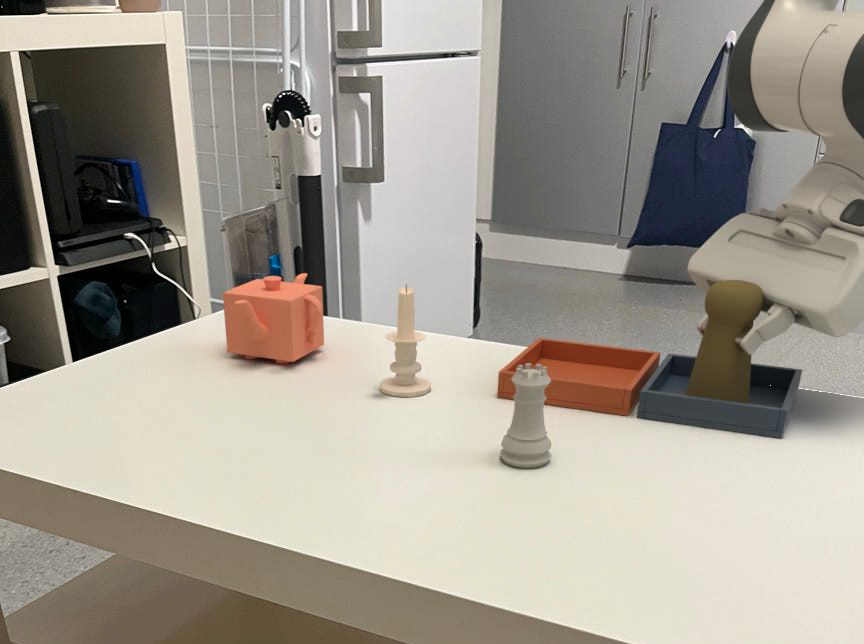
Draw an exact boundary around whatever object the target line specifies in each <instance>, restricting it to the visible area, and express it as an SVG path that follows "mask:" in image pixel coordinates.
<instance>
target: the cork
mask: <svg viewBox="0 0 864 644" xmlns="http://www.w3.org/2000/svg"><path fill="white" fill-rule="evenodd" d="M763 302H764V298H763V293H762V289H761V288H760V287H759V286H758V285H756V284H754V283H751V282H747V281H742V280H725V281H719V282H717V283H715V284H713V285H712V286H711V288H710V289H709V290H708V292H706V295H705V298H704V310H705V311H704V312H705V314H706V313H707V315H708V321H707V324H706V327H705V331H704V334H703V336H702V337H701V341H700V344H699V348H698V351H697V354H696V356H695V357H696V360H695V364H694V367H693V370H692V374H691V377H690V380H689V383H688V387H687V390H686V393H685V395H688V396H695V397H703V398H710V399H718V400H725V401H733V402H740V403H747V404H748V402H749V389H750V372H751V363H752V355H749V354H746V353H745V352H742V351H740V350H739V348H738V347H737V346H736V345H735V344H734V338H735V337H736V336H737V335H738V334H740V332H741V330H742V329H743V328H744V327H745V326H747V327H750V328H752V327H753V326H754V321H755V320H756V319H757V318H758V317H759V316H760V313H761V309H762V307H763Z"/></svg>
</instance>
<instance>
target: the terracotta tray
mask: <svg viewBox="0 0 864 644" xmlns="http://www.w3.org/2000/svg"><path fill="white" fill-rule="evenodd" d="M660 359H661V352H659V351H652V350H645V349H644V350H643V349H637V348H628V347H619V346H611V345H603V344H594V343H587V342H577V341H569V340H562V339H561V340H560V339H554V338H553V339H552V338H544V337H538V338H536V340H535V341H534V342H532V343H531V344H530V345H529V346H527V348H525V349H524V350H522V352H520V353H519V354H518V355H517V356H515V357H514V359H512V360H511V361H510V362H508V363H507V364H506V365H505V366H504V367H502V368H501V369H500V370H499V371H498V379H497V398H500V399H507V400H513V401H515V400H514V398H513V396H514V394H515V393H516V386H515V385H514V383H513V382H512V380H511V379H512V377H513V376H514V375H515V373H516V369H517V366H519V365H523V370H524V369H525V364H531V369H536V364H539V365H542V369H543V367H547V375H548V376H549V378H550V379H551V382H550V383H549V384H548V386H547V387H546V388H545V390H544V394H545V396H546V397H547V399H546V400H545V402H544V405H547V406H549V405H550V406H555V407H561V408H562V407H563V408H570V409H576V410H582V411H590V412H597V413H605V414H611V415H617V416H618V415H619V416H625V417H629V416H630V414H631V412H632V411H633V410H634V409H635V407H636V406H637V405H638V403H639V396H640V391H641V390H642V388H643V387H644V386H645V384H646V383H647V382H648V380H649V379H650V378H651V376H652V375H653V374H654V372H655V371H656V370H657V368H658V367H659V366H660V361H661V360H660Z"/></svg>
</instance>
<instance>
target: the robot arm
mask: <svg viewBox="0 0 864 644" xmlns="http://www.w3.org/2000/svg"><path fill="white" fill-rule="evenodd" d="M839 2H840V0H763V1H762V3H761V4H760V6H759V7H758V8H757V9H756V11H755V13H754V14H753V15H752V16H751V18H750V19H749V20H748V22H747V23H746V25H745V27H744V28H743V30H742V32H741V33H740V35H739V37H738V38H737V40H736V42H735V44H734V46H733V48H732V51H731V54H730V57H729V61H728V65H727V72H726V88H727V95H728V100H729V103H730V106H731V109H732V111H733V113H734V115H735V117H736V119H737V120H738V121H739V122H740V123H741V124H742V125H743V126H744V127H745V128H747V129H748V130H751V131H755V132H769V133H771V132H772V133H774V132H775V133H789V132H791V133H797V134H804V135H809V136H814V137H820V138H821V140H822V142H823V144H824V146H825V151H824V154H823V156H822V157H821V158H819V160H817V161H816V162H815V163H814V164H813V165H812V166H811V168H809V170H808V171H807V172H806V173H805V174H804V176H803V177H802V178H801V179H800V180H799V181H798V183H797V184H796V185H795V186H794V187H793V188H792V190H791V191H789V193H788V194H787V195H786V197H785V198H784V199H783V200H782V201H781V202H780V204H779V205H778V206H777V207H776V209H775V210H770V209H768V208H766V207H760V206H759V207H755V208H754V209H752V210H749V211H746V212H741V213H740V214H737V215H736V216H734V217H732V218H731V219H729V220H728V221H727V222H725V223H724V224H723V225H722V226H721V227H720V228H718V229H717V230H716V231H715V232H714V233H712V235H711V236H710V237H709V238H708V239H707V240H706V241H705V242H704V243H703V244H702V245H701V246H700V247H699V248H698V249H697V250H696V251H695V253H693V254H692V256H691V257H690V259H689V260H688V264H687V270H686V271H687V273H688V275H689V277H690V278H691V280H692V281H693V283H694V284H695V285H696V286H697V288H698V289H699V290H700V291H702V292H704V293H707V292H708V290H709V289H710V288H711V286H712V285H713V284H715V283H717V282H719V281H725V280H742V281H747V282H751V283H754V284H756V285H758V286H759V287H760V288H761V289H762V293H763V298H764V302H763V307H762V309H761V311H760V313H765V314H767V315H768V316H766V317H765V318H764V319H762V320H760V321H759V322H757V323H756V324H753V327H752V328H750V327H747V326H745V327H744V328H743V329H742V330H741V332H740V334H738V335H737V336H736V337H735V338H734V344H735V345H736V346H737V347H738V348H739V350H740V351H742V352H745V353H746V354H749V355H751V356H752V355H754V354H755V352H756V351H757V350H758V349H759V348H760V347H761V346H762V345H763V344H764V343H766V342H768V341H769V340H771V339H773V338H775V337H777V336H779V335H781V334H783V333H786V332H787V331H788V330H789V329H790V328H791V326H792V325H793V324H796V325H799V326H802V327H804V328H808V329H810V330H813V331H816V332H819V333H821V334H825V335H828V336H830V337H833V338H839V337H843V336H846V335H847V334H850V333H852V332H853V331H854V330H856V329H857V328H858V327H859V326H860V325H861V324H862V323H863V321H864V10H853V11H849V10H847V11H846V10H844V11H843V10H836V7H837V6H838V4H839ZM707 321H708V315H707V313H706V312H705V314H704V316H703V317H702V318H701V319H700V320H699V321H698V323H697V324H696V330H697V331H698V332H699V333H700V335H701V336H702V337H703V334H704V331H705V327H706V324H707Z"/></svg>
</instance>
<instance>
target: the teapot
mask: <svg viewBox="0 0 864 644" xmlns="http://www.w3.org/2000/svg"><path fill="white" fill-rule="evenodd" d="M308 276H309V275H308V273H306V272H303V273H300V274H298V275H297V276H295V278H294V280H293V282H289V281H282V280H283V279H282V277H281V276H278V275H267V276H265V277H262V278H256V279H253V280H251V281H249V282H246V283H243V284H241V285H238V286H235V287H233V288H230V289H229V290H226V291H224V292H223V293H222V303H223V315H224V325H225V326H224V327H225V338H226V349H227V351H226V352H227V353H228V354H236V355H242V356H245V359H247V360H256V359H260V358H264V359H270V360H275V363H277V364H289V363H291V362H292V363H294V362H296V361H297V360H299V359H301V358H303V357H305V356H306V355H308V354H310V353H312V352H314V351H316V350H318V349H319V348H322V347H323V346H324V345H325V330H324V329H325V328H324V300H323V286H321V285H315V284H305V280H306V279H307V277H308Z"/></svg>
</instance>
